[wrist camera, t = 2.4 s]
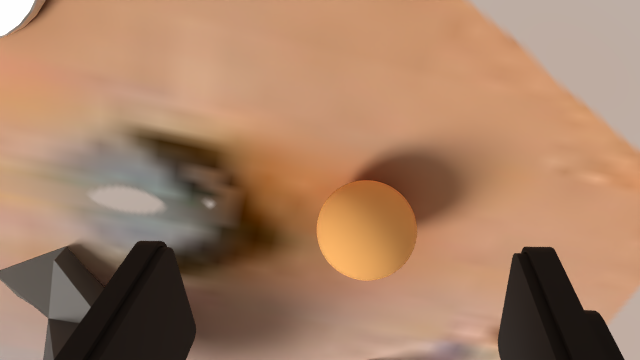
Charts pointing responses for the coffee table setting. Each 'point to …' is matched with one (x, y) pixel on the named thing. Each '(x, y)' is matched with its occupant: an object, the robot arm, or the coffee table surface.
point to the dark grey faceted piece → (55, 293)
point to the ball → (366, 230)
